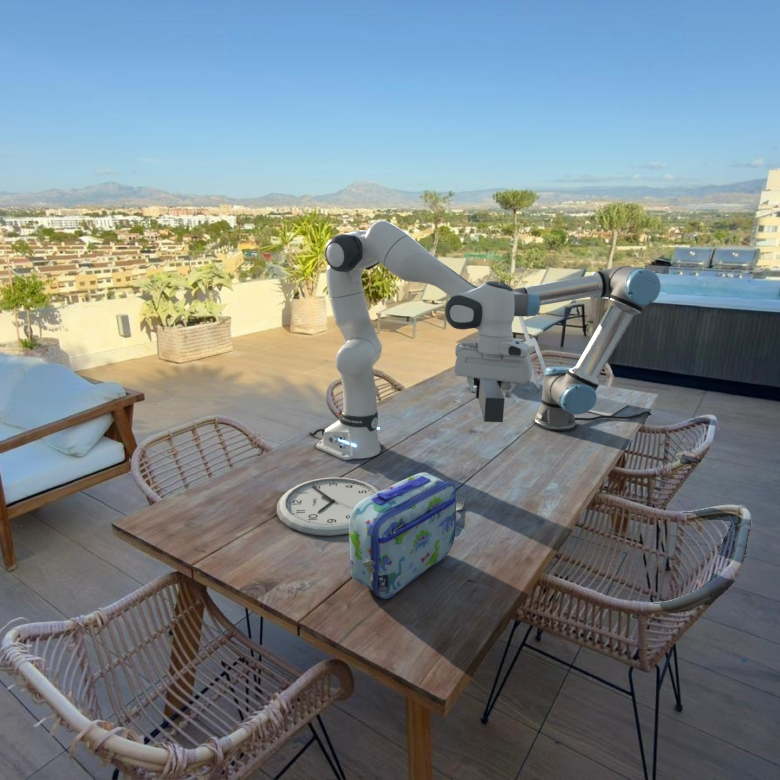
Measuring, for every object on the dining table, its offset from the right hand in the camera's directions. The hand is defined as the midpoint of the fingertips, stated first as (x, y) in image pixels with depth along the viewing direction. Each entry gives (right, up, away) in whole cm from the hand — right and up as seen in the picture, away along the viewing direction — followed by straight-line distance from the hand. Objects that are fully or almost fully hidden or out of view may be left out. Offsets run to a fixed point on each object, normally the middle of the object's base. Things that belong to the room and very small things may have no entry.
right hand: (486, 397), depth 186 cm
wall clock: (-50, -29, -43) cm, 72 cm away
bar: (-1, -3, -9) cm, 10 cm away
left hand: (-7, +1, -44) cm, 45 cm away
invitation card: (+57, -5, +40) cm, 70 cm away
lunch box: (-31, -38, -70) cm, 85 cm away
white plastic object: (+22, +6, +72) cm, 76 cm away
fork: (-17, -31, -48) cm, 59 cm away
